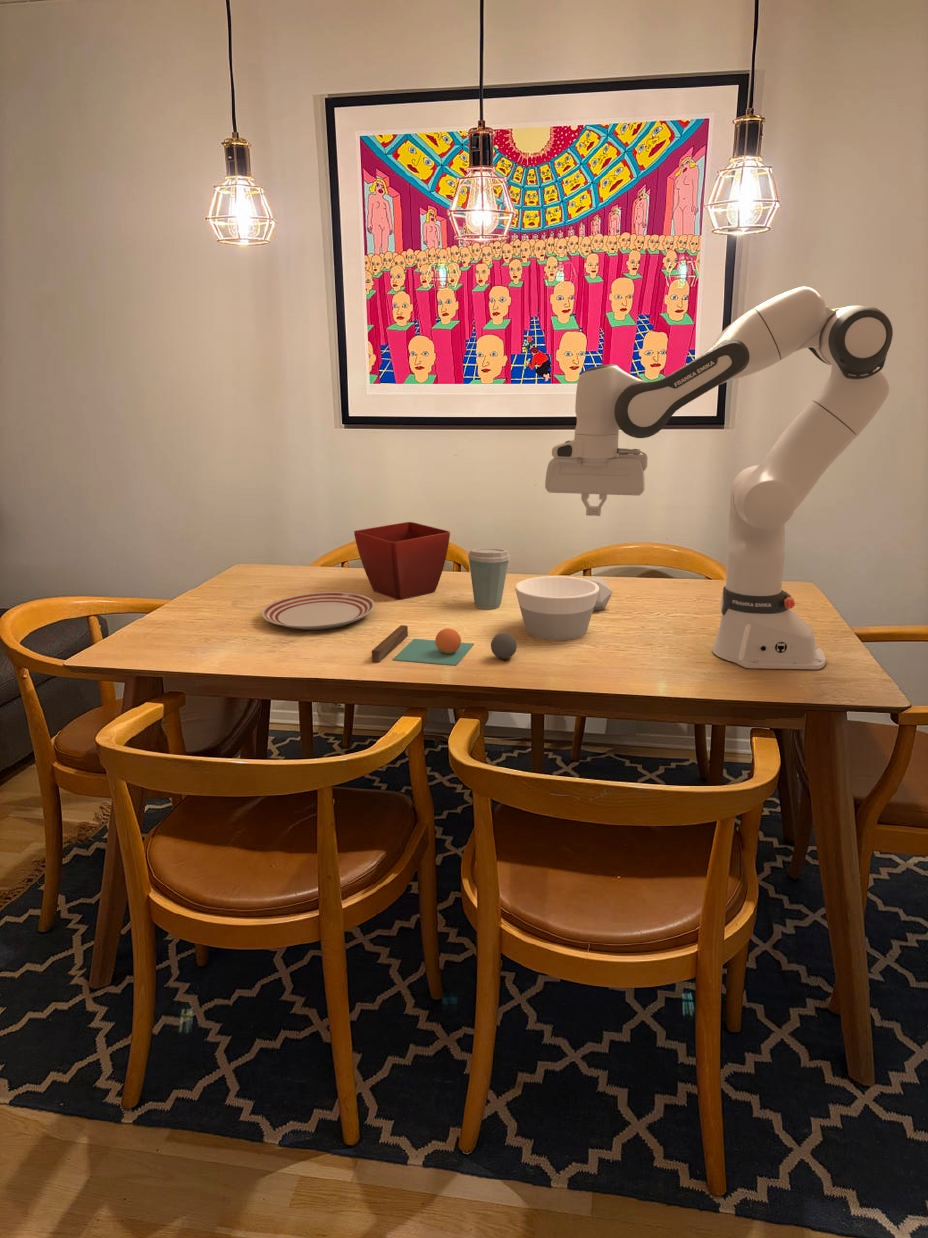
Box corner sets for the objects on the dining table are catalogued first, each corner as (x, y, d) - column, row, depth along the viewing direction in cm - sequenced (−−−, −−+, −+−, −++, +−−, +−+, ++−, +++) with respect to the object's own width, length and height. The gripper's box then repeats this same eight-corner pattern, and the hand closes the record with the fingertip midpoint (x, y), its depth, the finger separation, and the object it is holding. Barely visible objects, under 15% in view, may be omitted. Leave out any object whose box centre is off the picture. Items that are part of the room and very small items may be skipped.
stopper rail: (407, 636, 193) (407, 625, 192) (379, 662, 176) (378, 651, 175) (401, 635, 193) (400, 625, 192) (372, 661, 176) (371, 650, 176)
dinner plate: (309, 645, 188) (308, 630, 187) (240, 621, 206) (238, 608, 205) (398, 617, 207) (398, 604, 206) (328, 597, 225) (327, 585, 224)
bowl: (596, 646, 184) (598, 599, 181) (509, 642, 188) (510, 596, 185) (598, 620, 203) (600, 577, 199) (519, 617, 206) (519, 574, 203)
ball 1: (449, 620, 182) (434, 637, 184) (442, 627, 177) (427, 645, 179) (468, 636, 182) (453, 654, 184) (461, 644, 177) (446, 662, 179)
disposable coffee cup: (466, 600, 220) (466, 544, 215) (507, 599, 220) (507, 543, 216) (469, 612, 210) (469, 553, 205) (512, 611, 210) (513, 552, 206)
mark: (473, 644, 186) (473, 643, 186) (456, 665, 174) (456, 664, 174) (414, 639, 190) (414, 638, 190) (392, 660, 177) (392, 659, 177)
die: (568, 610, 213) (577, 587, 205) (579, 587, 218) (588, 563, 210) (598, 623, 212) (609, 600, 204) (608, 600, 217) (619, 576, 209)
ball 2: (495, 627, 179) (492, 651, 181) (489, 635, 174) (486, 660, 176) (520, 631, 178) (517, 656, 180) (515, 639, 173) (512, 664, 175)
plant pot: (394, 605, 216) (392, 541, 211) (355, 591, 231) (352, 530, 226) (453, 592, 228) (452, 531, 223) (411, 579, 242) (410, 521, 237)
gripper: (649, 447, 171) (645, 514, 175) (549, 445, 176) (548, 510, 180) (647, 450, 165) (643, 520, 169) (544, 448, 171) (543, 516, 175)
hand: (593, 515), depth 175 cm, fingers closed
